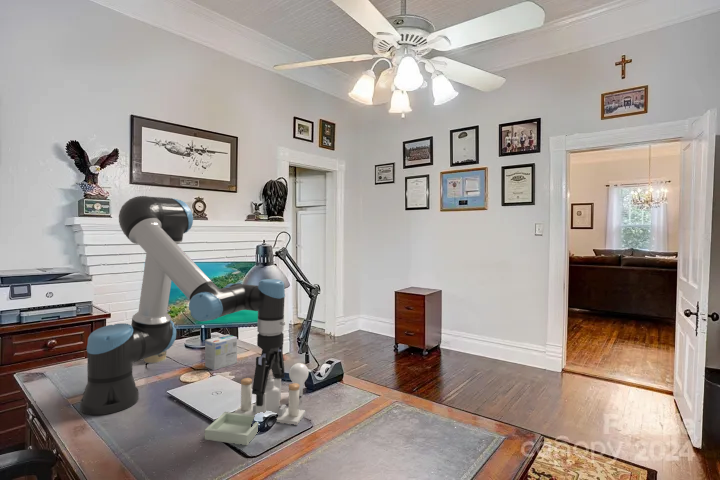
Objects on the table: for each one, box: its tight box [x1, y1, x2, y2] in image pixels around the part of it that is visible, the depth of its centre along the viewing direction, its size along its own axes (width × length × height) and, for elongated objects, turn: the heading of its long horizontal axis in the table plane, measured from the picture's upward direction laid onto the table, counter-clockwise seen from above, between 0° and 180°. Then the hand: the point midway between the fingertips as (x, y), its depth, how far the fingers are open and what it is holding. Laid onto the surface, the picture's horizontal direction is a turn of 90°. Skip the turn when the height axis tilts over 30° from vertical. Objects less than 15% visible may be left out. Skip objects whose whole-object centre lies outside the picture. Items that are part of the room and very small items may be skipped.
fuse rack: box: [233, 377, 306, 426], centre depth 116 cm, size 20×7×10 cm, turn 79°
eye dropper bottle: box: [265, 374, 281, 416], centre depth 115 cm, size 4×6×12 cm
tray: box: [204, 411, 259, 446], centre depth 106 cm, size 12×10×3 cm
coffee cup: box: [143, 350, 168, 364], centre depth 158 cm, size 9×9×12 cm
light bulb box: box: [204, 333, 238, 371], centre depth 154 cm, size 11×7×11 cm, turn 144°
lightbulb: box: [288, 362, 310, 398], centre depth 128 cm, size 6×6×11 cm
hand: (268, 407), depth 115 cm, fingers open, 10 cm apart
